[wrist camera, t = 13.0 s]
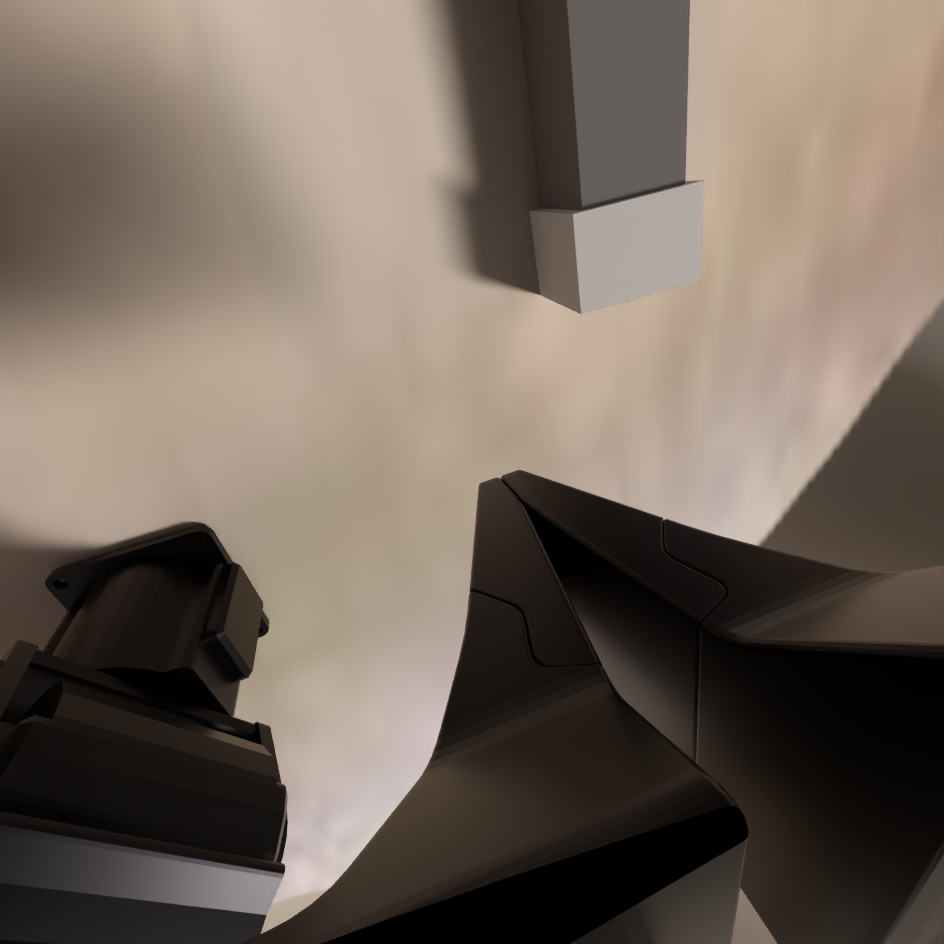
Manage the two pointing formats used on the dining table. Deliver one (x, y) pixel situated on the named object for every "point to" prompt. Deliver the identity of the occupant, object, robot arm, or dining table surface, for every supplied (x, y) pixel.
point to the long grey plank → (611, 149)
